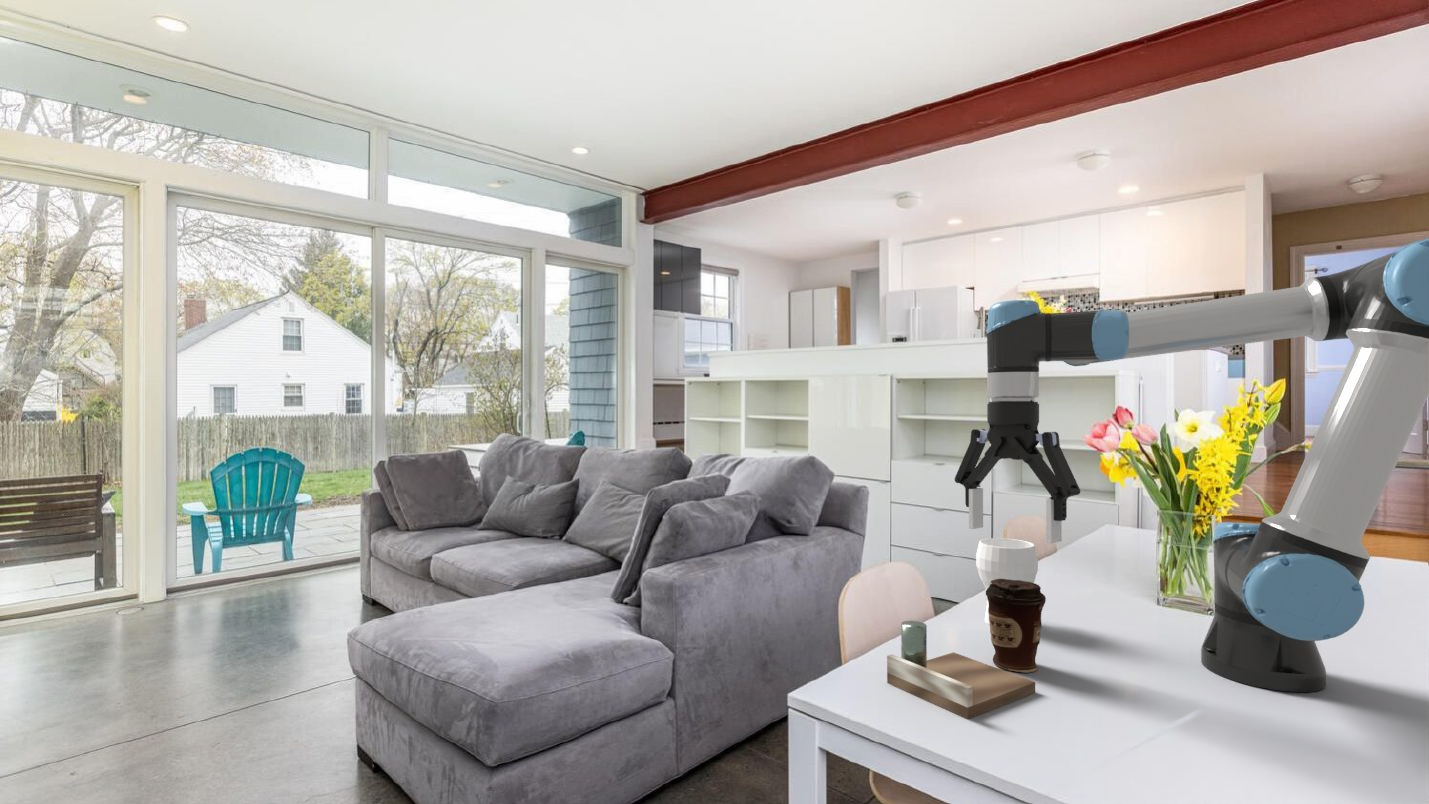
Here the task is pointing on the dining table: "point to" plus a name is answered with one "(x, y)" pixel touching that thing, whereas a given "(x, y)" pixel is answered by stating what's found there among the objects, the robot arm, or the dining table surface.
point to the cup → (1005, 561)
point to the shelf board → (958, 683)
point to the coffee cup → (1015, 623)
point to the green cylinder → (914, 642)
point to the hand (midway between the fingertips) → (1012, 534)
